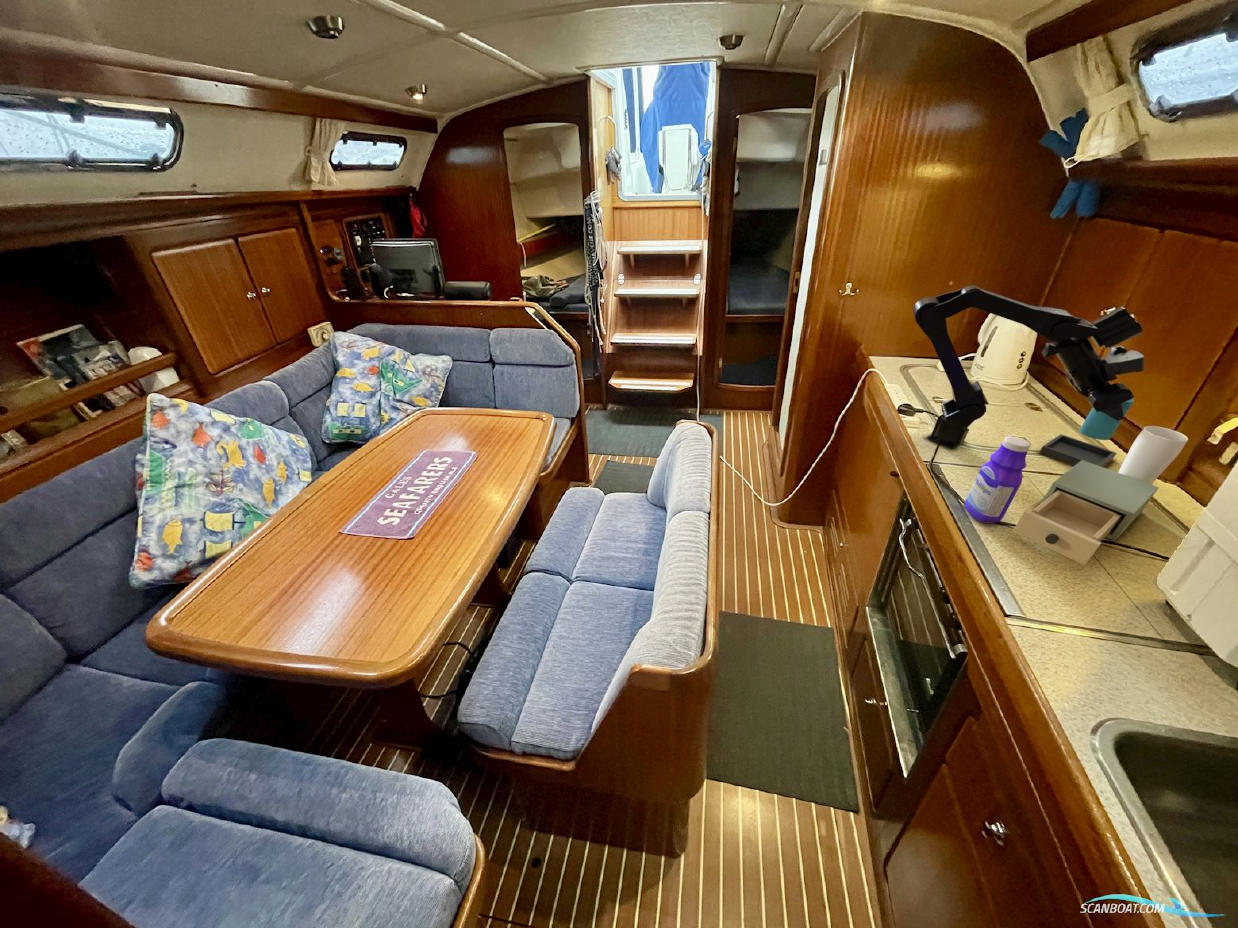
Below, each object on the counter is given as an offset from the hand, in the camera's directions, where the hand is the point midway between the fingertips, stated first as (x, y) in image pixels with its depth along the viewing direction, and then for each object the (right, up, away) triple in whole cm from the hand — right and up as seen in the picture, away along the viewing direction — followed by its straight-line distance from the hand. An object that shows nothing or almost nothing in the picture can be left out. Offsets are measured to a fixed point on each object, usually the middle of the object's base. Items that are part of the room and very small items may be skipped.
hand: (1115, 414), depth 109 cm
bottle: (-37, -22, -9) cm, 44 cm away
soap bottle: (-1, -4, +3) cm, 6 cm away
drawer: (-27, -25, -16) cm, 40 cm away
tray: (+1, -9, +11) cm, 14 cm away
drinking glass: (-1, -18, -2) cm, 18 cm away
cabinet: (-14, -21, -8) cm, 27 cm away
